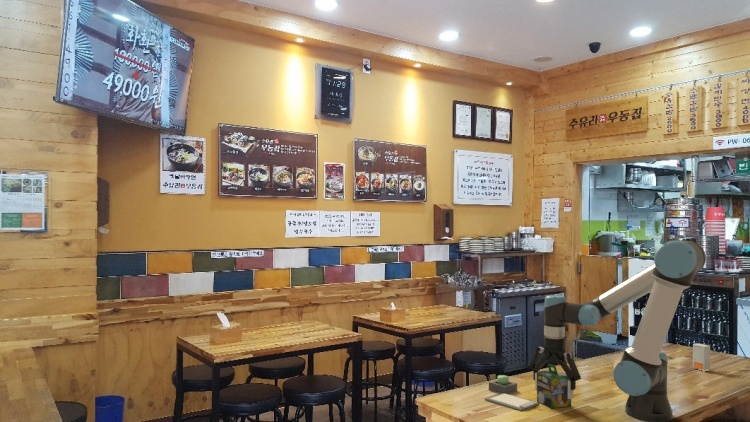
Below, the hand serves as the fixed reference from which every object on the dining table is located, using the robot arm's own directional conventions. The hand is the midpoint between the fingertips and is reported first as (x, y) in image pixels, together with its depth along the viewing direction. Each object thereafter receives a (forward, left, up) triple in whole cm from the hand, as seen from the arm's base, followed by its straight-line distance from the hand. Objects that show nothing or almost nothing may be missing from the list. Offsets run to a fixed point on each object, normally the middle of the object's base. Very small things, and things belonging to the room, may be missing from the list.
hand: (553, 393), depth 208 cm
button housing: (+22, +1, -4) cm, 22 cm away
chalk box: (0, 0, -4) cm, 4 cm away
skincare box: (-18, -101, -4) cm, 103 cm away
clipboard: (+11, +11, -4) cm, 16 cm away
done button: (+22, +1, -1) cm, 22 cm away
